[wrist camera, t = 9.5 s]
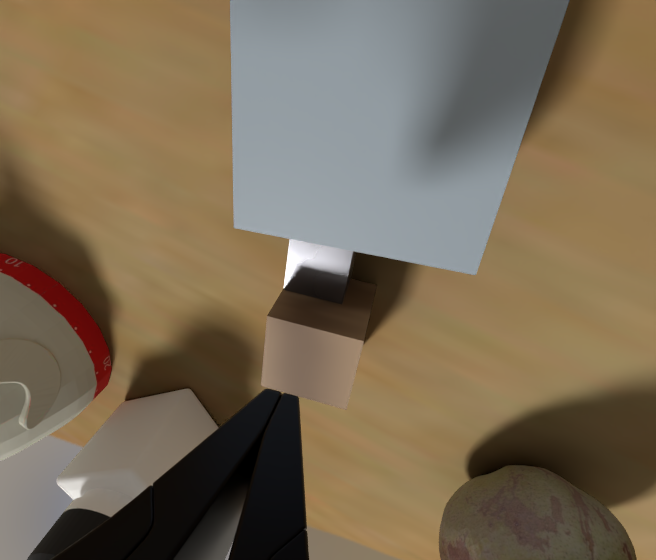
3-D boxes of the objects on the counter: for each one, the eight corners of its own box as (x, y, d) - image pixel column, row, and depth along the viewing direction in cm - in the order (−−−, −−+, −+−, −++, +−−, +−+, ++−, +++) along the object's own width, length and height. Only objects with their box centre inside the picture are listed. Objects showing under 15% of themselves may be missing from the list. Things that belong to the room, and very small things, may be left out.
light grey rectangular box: (122, 400, 32) (-19, 562, 22) (190, 385, 30) (65, 562, 20) (171, 459, 35) (65, 629, 25) (238, 451, 32) (150, 637, 22)
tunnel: (523, 0, 15) (577, -24, 9) (463, 207, 19) (475, 275, 14) (299, -23, 16) (229, -58, 11) (288, 176, 20) (233, 228, 15)
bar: (480, -315, 12) (493, -411, 9) (352, 274, 23) (341, 304, 20) (379, -325, 12) (366, -420, 10) (300, 262, 23) (283, 289, 20)
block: (377, 284, 22) (363, 341, 18) (361, 346, 25) (346, 409, 20) (297, 265, 23) (267, 315, 19) (289, 327, 25) (260, 385, 21)
